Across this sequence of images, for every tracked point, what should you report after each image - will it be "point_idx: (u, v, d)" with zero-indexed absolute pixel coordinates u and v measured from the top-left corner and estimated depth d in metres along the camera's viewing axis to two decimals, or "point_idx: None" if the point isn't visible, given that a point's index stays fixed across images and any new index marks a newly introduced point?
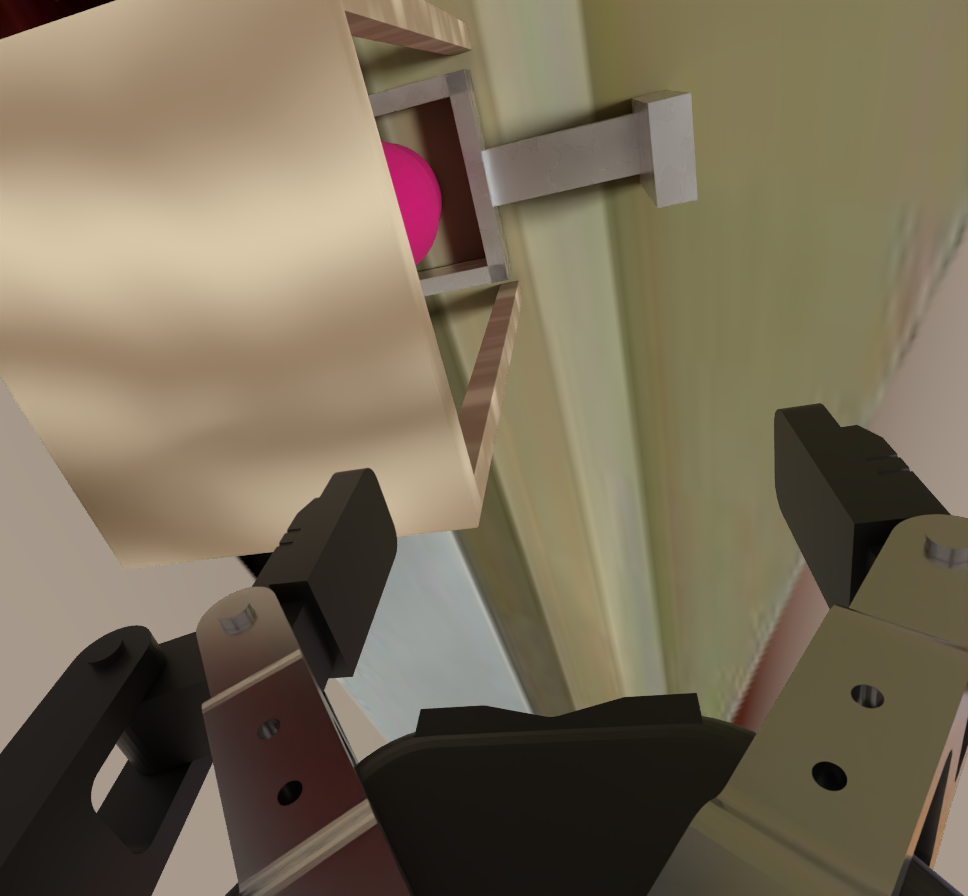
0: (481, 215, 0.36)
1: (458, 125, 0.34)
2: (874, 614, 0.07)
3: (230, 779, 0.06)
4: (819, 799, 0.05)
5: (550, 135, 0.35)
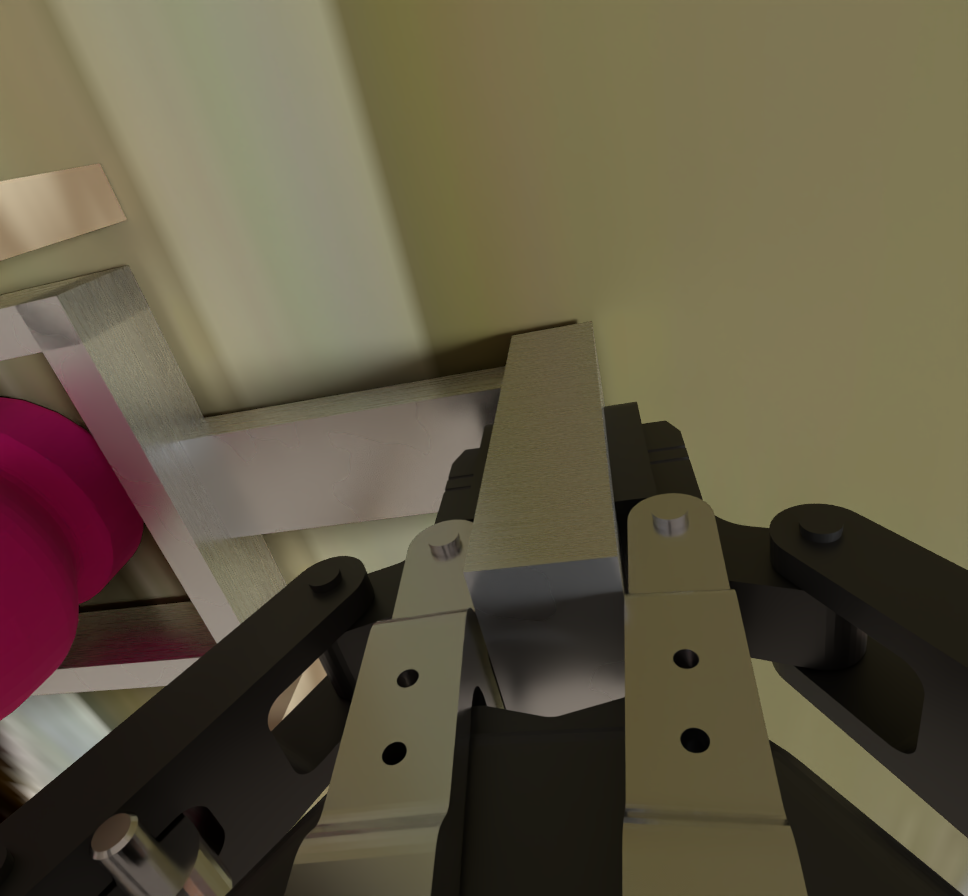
0: (187, 576, 0.16)
1: (83, 411, 0.14)
2: (649, 591, 0.08)
3: (359, 709, 0.07)
4: (698, 764, 0.05)
5: (323, 418, 0.15)
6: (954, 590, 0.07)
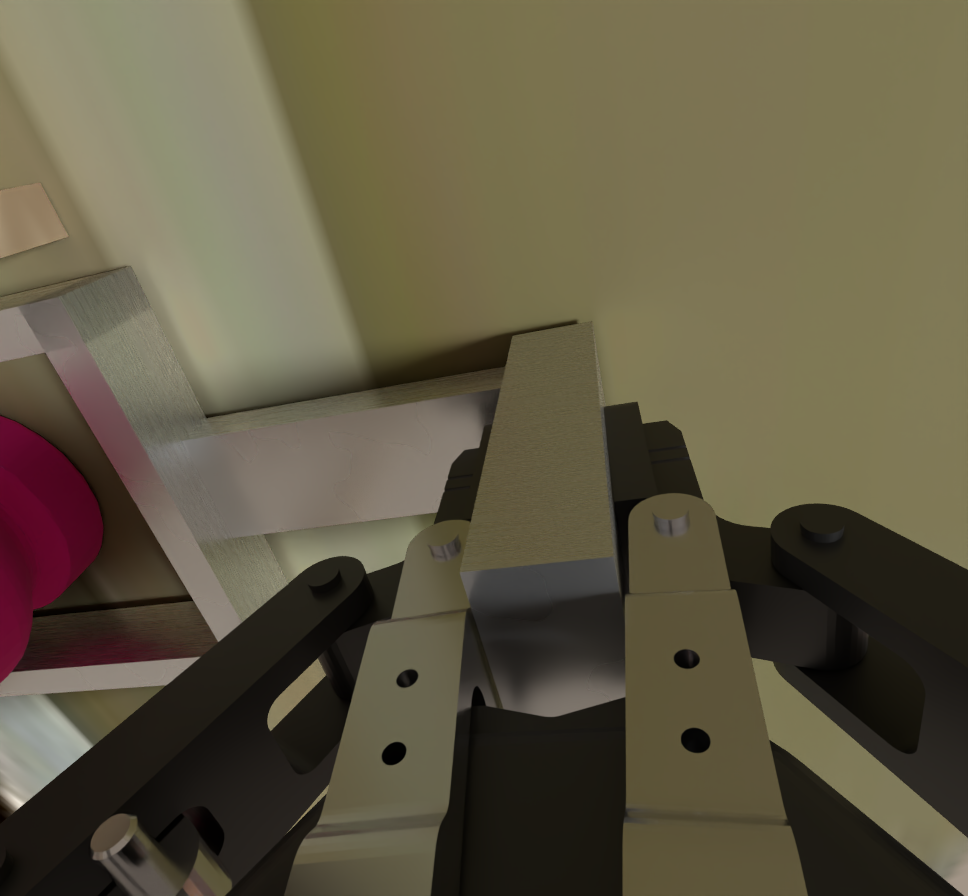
0: (189, 575, 0.16)
1: (85, 412, 0.14)
2: (649, 591, 0.08)
3: (359, 709, 0.07)
4: (698, 764, 0.05)
5: (324, 418, 0.15)
6: (954, 591, 0.07)
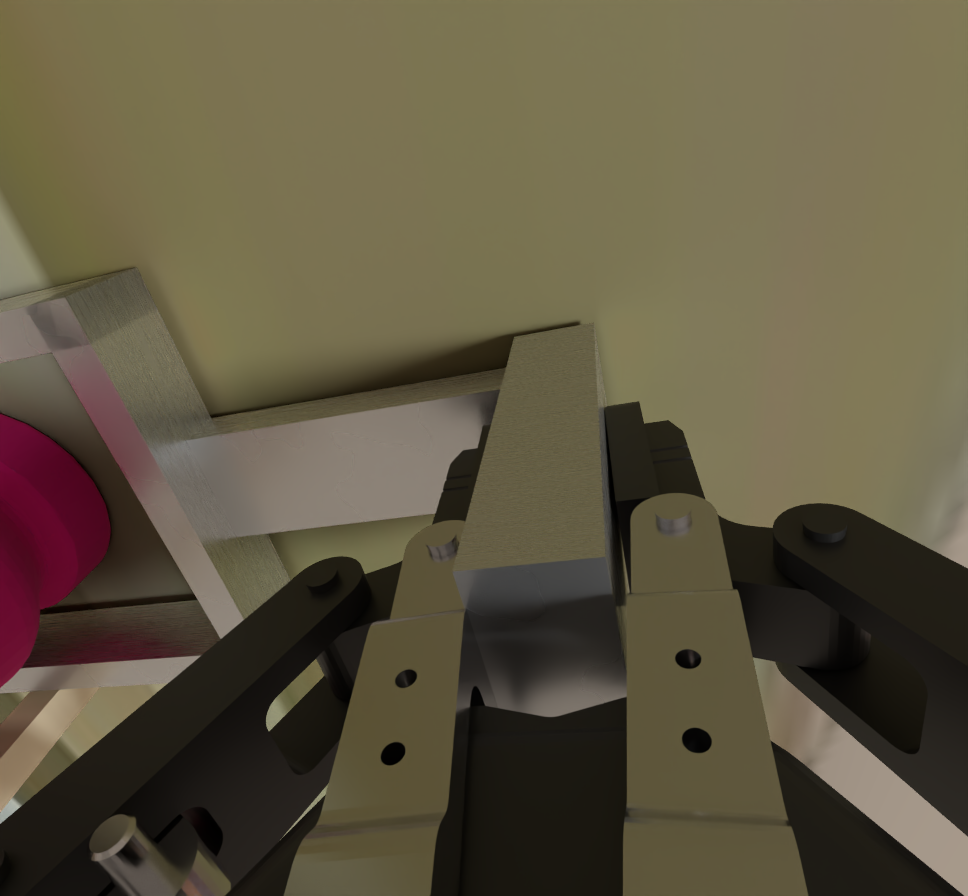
0: (193, 574, 0.16)
1: (91, 411, 0.14)
2: (651, 591, 0.08)
3: (358, 710, 0.07)
4: (699, 765, 0.05)
5: (326, 419, 0.15)
6: (958, 591, 0.07)
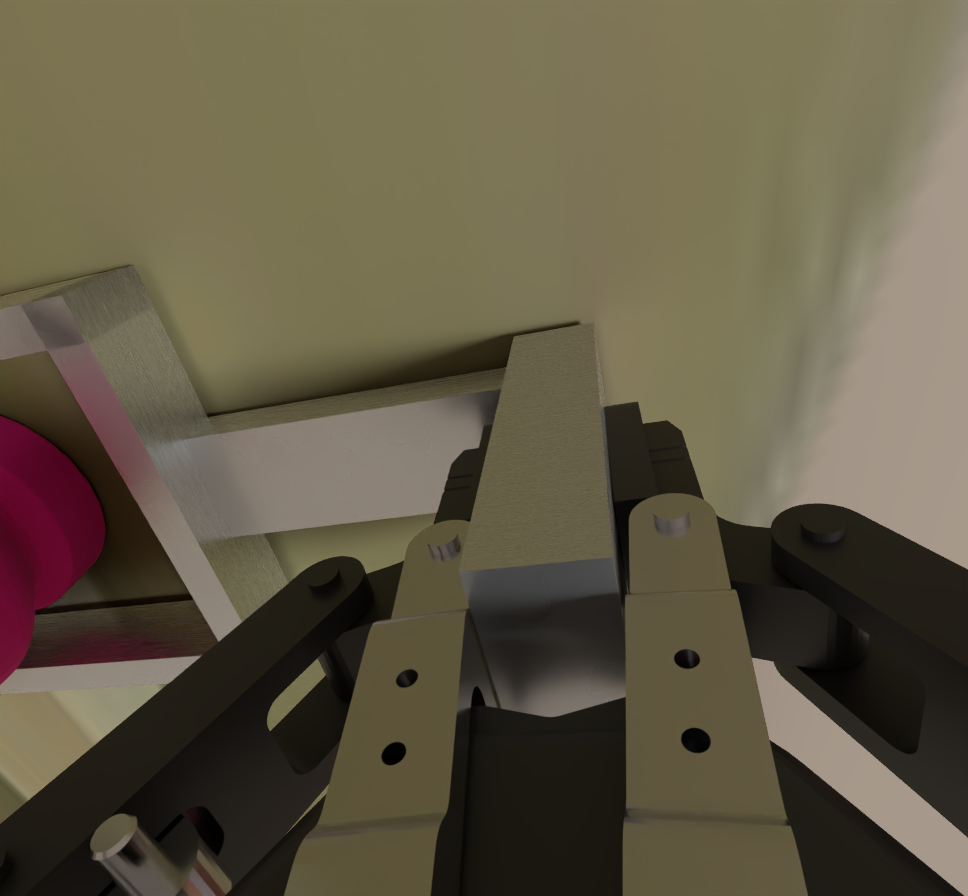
0: (189, 574, 0.16)
1: (87, 410, 0.14)
2: (649, 591, 0.08)
3: (359, 710, 0.07)
4: (698, 764, 0.05)
5: (324, 418, 0.15)
6: (955, 590, 0.07)
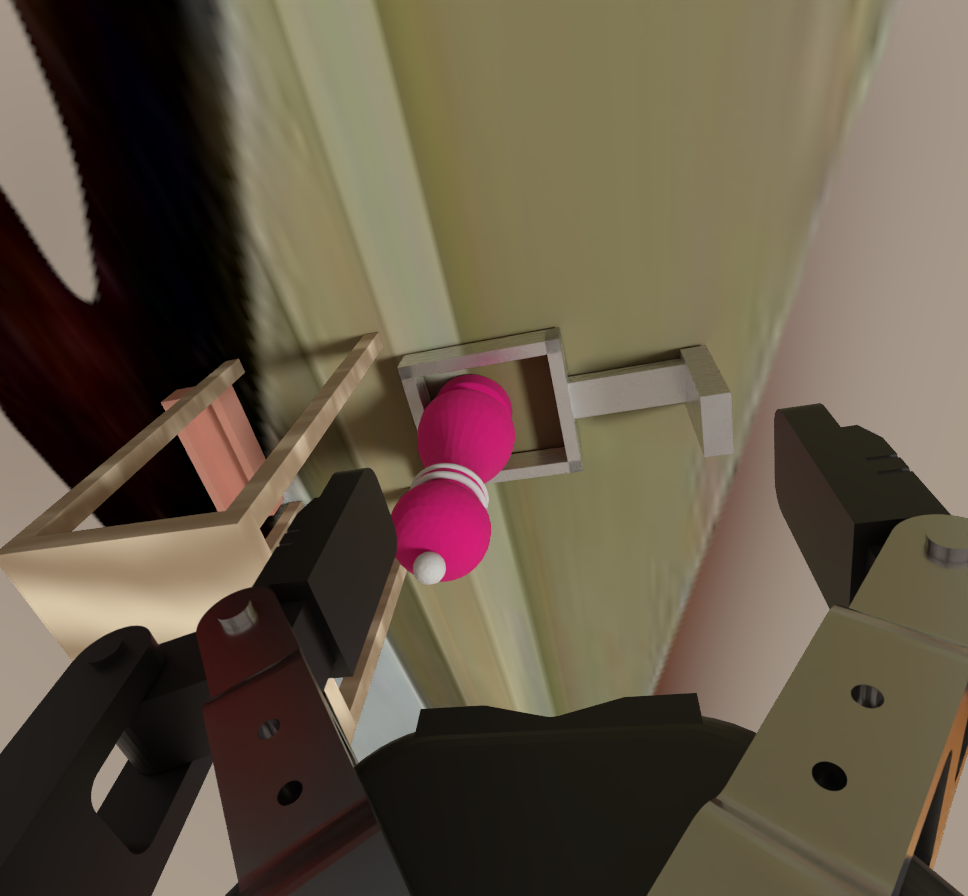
0: (565, 429, 0.48)
1: (552, 372, 0.45)
2: (874, 614, 0.07)
3: (230, 779, 0.06)
4: (819, 798, 0.05)
5: (619, 375, 0.46)
6: None
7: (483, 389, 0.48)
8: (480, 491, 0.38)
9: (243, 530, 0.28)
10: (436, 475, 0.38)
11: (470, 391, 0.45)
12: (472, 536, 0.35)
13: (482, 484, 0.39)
